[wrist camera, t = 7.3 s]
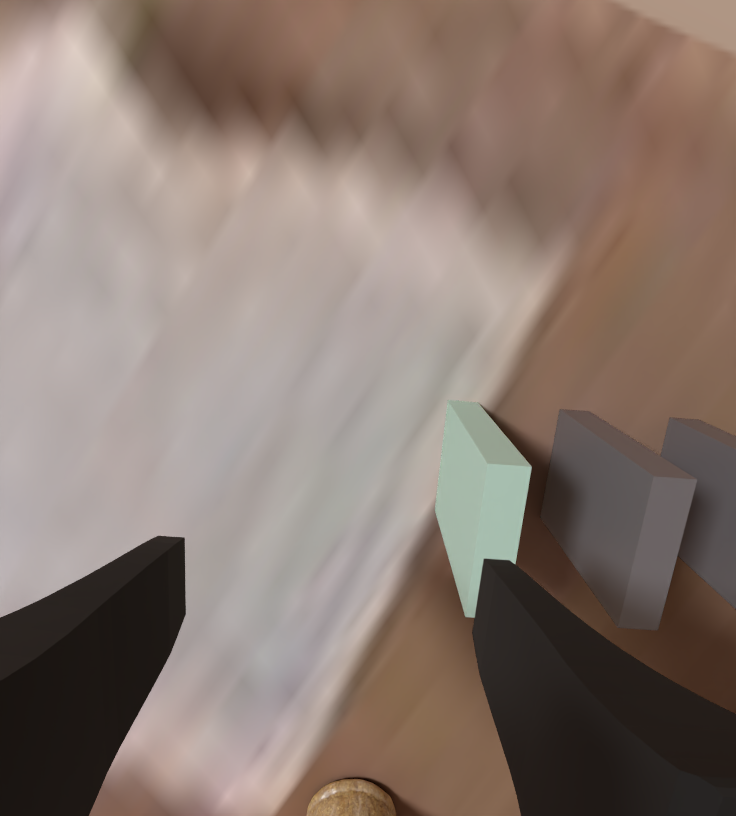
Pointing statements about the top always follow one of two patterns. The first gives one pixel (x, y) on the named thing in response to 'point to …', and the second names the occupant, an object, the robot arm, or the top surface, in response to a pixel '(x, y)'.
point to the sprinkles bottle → (351, 800)
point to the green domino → (478, 496)
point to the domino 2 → (707, 500)
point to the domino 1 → (616, 515)
